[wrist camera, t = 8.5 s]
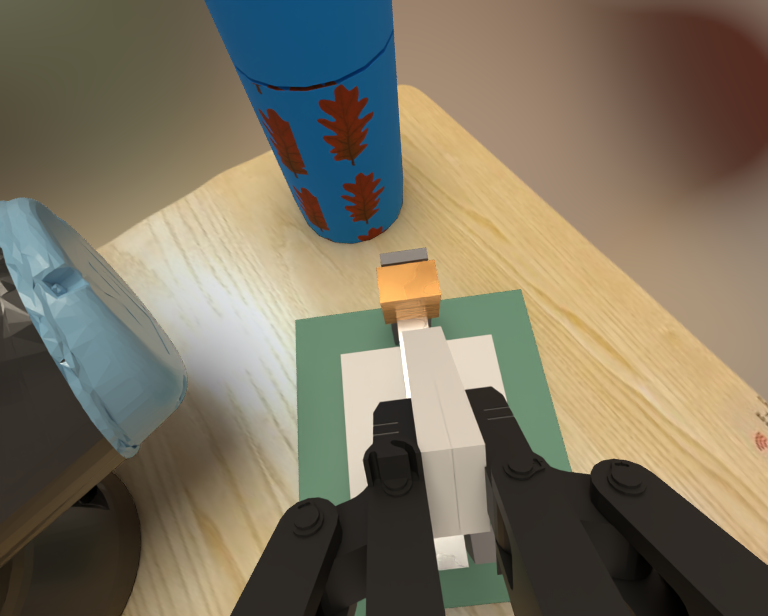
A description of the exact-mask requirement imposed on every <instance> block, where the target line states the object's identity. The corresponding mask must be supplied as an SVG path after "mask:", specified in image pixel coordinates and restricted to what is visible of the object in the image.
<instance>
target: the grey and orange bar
mask: <svg viewBox="0 0 768 616" xmlns="http://www.w3.org/2000/svg"><path fill="white" fill-rule="evenodd" d="M376 269H377V278H378V286H379V295H380V303H381V307H382V312H383V316H384V320H385V325H386V324H393V323H397V325H398V332H399V340H400V347H401V355H402V362H403V370H404V378H405V385H406V393H407V398H411V395H410V388H409V381H408V374H407V367H406V359H405V352H404V345H403V338H402V331H409V330H416V329H423V328H429V326H428V320H427V319H430V318H437V317H439V310H440V300H441V292H440V286H439V281H438V276H437V270H436V265H435V260H429V261H422V262H415V263H408V264H401V265H394V266H387V267H379V268H376ZM434 544H435V550H436V557H437V563H438V570H447V569H456V568H465V567H469V565H468V559H467V553H466V547H465V541H464V535H458V536H449V537H441V538H434Z"/></svg>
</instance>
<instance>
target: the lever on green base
mask: <svg viewBox="0 0 768 616" xmlns="http://www.w3.org/2000/svg"><path fill="white" fill-rule="evenodd" d="M380 259H381V266H382V267H387V266H394V265H401V264H408V263H415V262H422V261H428V255H427V250H426V248H419V249H412V250H405V251H398V252H391V253H384V254H380ZM427 320H428V326H429V328H431V327H438V326H441V328H442V330H443V333H444V336H445V339H446V341H447V344H448V347H449V349H450V352H451V355H452V357H453V360H454V363H455V365H456V368H457V371H458V373H459V376H460V379H461V381H462V384H463V387H464V389H465V390H466V389H474V388H481V387H489V386H492V387H493V388H495V389H496V390H497V391H499V392H500V393H501V394H503V396H504V398H505V400H506V401H507V403H508V405H509V408H510V409H511V411H512V413H513V416H514V417H515V419H516V421H517V422H518V424H519V426H520V428H521V430H522V432H523V434H524V436H525V438H526V440H527V442H528V443H529V445H530V447H531V449H532V451H533V452H534V453H536V454H538V455H539V456H541V457H543V458H544V459H545V461H546V462H547V463H548V464H549V465H550V466H551V467H553V468H556V469H559V470H563V471H568V472H572V470H571V467H570V463H569V460H568V456H567V452H566V449H565V445H564V442H563V438H562V435H561V431H560V427H559V424H558V420H557V417H556V413H555V409H554V406H553V402H552V399H551V395H550V392H549V388H548V384H547V381H546V377H545V374H544V370H543V366H542V363H541V359H540V356H539V352H538V348H537V345H536V341H535V338H534V334H533V331H532V327H531V323H530V320H529V316H528V313H527V309H526V305H525V302H524V298H523V295H522V291H521V289H519V290H512V291H505V292H497V293H490V294H483V295H475V296H468V297H461V298H453V299H446V300H440V310H439V317H437V318H430V319H427ZM296 367H297V413H298V460H299V502H300V501H302V500H305V499H307V498H315V497H320V498H324V499H327V500H329V501H330V502H332V503H333V504H334V505H335V506H336V505H339V504H341V503H344V502H346V501H348V500H350V499H352V498H354V497H356V496H357V495H359V494H360V493H361V492H362V491H364V489H365V488H366V487H367V486H368V484H367V479H366V474H365V470H364V465H363V457H364V454H365V451H366V450H367V449H368V448H369V447H370V446H371V445H372V444H373V412H374V411H375V409H376V407H377V406H378V404H379V402H383V401H391V400H399V399H406V398H407V393H406V385H405V378H404V370H403V362H402V355H401V347H400V340H399V332H398V325H397V323H393V324H386V325H385V320H384V316H383V312H382V308H380V309H373V310H366V311H358V312H351V313H344V314H336V315H329V316H322V317H314V318H307V319H300V320H296ZM464 541H465V547H466V553H467V559H468V565H469V567H465V568H456V569H447V570H439V577H440V583H441V590H442V596H443V603H444V609H445V608H454V607H463V606H472V605H482V604H491V603H500V602H509V601H510V598H509V595H508V592H507V588H506V585H505V581H504V578H503V575H497V565H496V547H495V535H494V532H493V528H492V525H491V522H490V532H483V533H474V534H466V535H464ZM355 616H366V598H365V599H363V600H361V601H359V602H357V608H356V612H355Z"/></svg>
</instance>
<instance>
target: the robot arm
mask: <svg viewBox="0 0 768 616" xmlns="http://www.w3.org/2000/svg"><path fill="white" fill-rule="evenodd" d="M402 338H403V345H404V352H405V359H406V367H407V374H408V381H409V388H410V395H411V398H406V399H399V400H391V401H383V402H379V404H378V406H377V407H376V409H375V411H374V412H373V444H372V445H371V446H370V447H369V448H368V449H367V450H366V451H365V454H364V457H363V465H364V470H365V474H366V479H367V484H368V486H367V487H366V488H365V489H364V491H362V492H361V493H360V494H359V495H357V496H356V497H354V498H352V499H350V500H348V501H346V502H344V503H341V504H339V505H336V506H335V505H334V504H333V503H332V502H330V501H329V500H327V499H324V498H320V497H315V498H307V499H305V500H302V501H300V502H297V503H296V504H295V505H293V506H292V507H291V508H289V509H288V510H287V511H286V512H285V514H284V515H283V516H282V518H281V519H280V521H279V523H278V525H277V527H276V529H275V531H274V533H273V534H272V536H271V538H270V540H269V542H268V544H267V546H266V548H265V550H264V552H263V554H262V556H261V558H260V559H259V561H258V563H257V565H256V567H255V569H254V571H253V573H252V575H251V577H250V579H249V581H248V582H247V584H246V586H245V588H244V590H243V592H242V594H241V596H240V598H239V600H238V602H237V604H236V606H235V607H234V609H233V611H232V613H231V615H230V616H355V612H356V608H357V602H359V601H361V600H363V599H365V598H366V616H445V609H444V603H443V596H442V590H441V583H440V577H439V570H438V563H437V557H436V550H435V544H434V538H441V537H449V536H458V535H466V534H474V533H483V532H490V522H491V525H492V528H493V532H494V535H495V547H496V565H497V575H503V578H504V581H505V585H506V588H507V592H508V595H509V598H510V602H511V605H512V608H513V612H514V615H515V616H768V565H766V564H765V563H764V562H763V561H761V560H760V559H759V558H758V557H757V556H755V555H754V554H753V553H752V552H750V551H749V550H748V549H747V548H745V547H744V546H743V545H742V544H740V543H739V542H738V541H737V540H735V539H734V538H733V537H732V536H730V535H729V534H728V533H727V532H725V531H724V530H723V529H722V528H721V527H719V526H718V525H717V524H716V523H714V522H713V521H712V520H711V519H709V518H708V517H707V516H706V515H704V514H703V513H702V512H701V511H699V510H698V509H697V508H696V507H694V506H693V505H692V504H691V503H690V502H688V501H687V500H686V499H685V498H683V497H682V496H681V495H680V494H678V493H677V492H676V491H675V490H673V489H672V488H671V487H670V486H668V485H667V484H666V483H665V482H663V481H662V480H661V479H660V478H658V477H657V476H656V475H655V474H654V473H652V472H651V471H649V470H647V469H646V468H644V467H643V466H641V465H639V464H636V463H633V462H630V461H627V460H619V459H610V460H603V461H601V462H599V463H598V464H596V465H594V467H593V469H592V471H591V475H590V474H582V473H574V472H568V471H563V470H559V469H556V468H553V467H551V466H550V465H549V464H548V463H547V462H546V461H545V459H544V458H543V457H541V456H539V455H538V454H536V453H534V452H533V451H532V449H531V447H530V445H529V443H528V442H527V440H526V438H525V436H524V434H523V432H522V430H521V428H520V426H519V424H518V422H517V421H516V419H515V417H514V416H513V413H512V411H511V409H510V408H509V405H508V403H507V401H506V400H505V398H504V396H503V394H501V393H500V392H499V391H497V390H496V389H495V388H493V387H492V386H489V387H481V388H474V389H466V390H465V389H464V387H463V384H462V381H461V379H460V376H459V373H458V371H457V368H456V365H455V363H454V360H453V357H452V355H451V352H450V349H449V347H448V344H447V341H446V339H445V336H444V333H443V330H442V328H441V326H438V327H431V328H423V329H416V330H409V331H402ZM186 391H187V373H186V369H185V366H184V364H183V361H182V359H181V357H180V355H179V353H178V352H177V350H176V348H175V347H174V345H173V343H172V342H171V340H170V339H169V337H168V336H167V334H166V333H165V332H164V330H163V329H162V328H161V326H160V325H159V324H158V322H157V321H156V320H155V318H154V317H153V316H152V314H151V313H150V312H149V310H148V309H147V308H146V307H145V305H144V304H143V303H142V302H141V301H140V299H139V298H138V297H137V296H136V294H135V293H134V292H133V291H132V290H131V289H130V287H129V286H128V285H127V284H126V283H125V282H124V280H123V279H122V278H121V277H120V276H119V275H118V274H117V273H116V271H115V270H114V269H113V268H112V267H111V266H110V265H109V264H108V263H107V262H106V261H105V260H104V258H103V257H102V256H101V255H100V254H99V253H98V252H97V251H96V250H95V249H94V248H93V247H92V246H91V245H90V244H89V243H88V242H87V241H86V240H85V239H84V238H83V237H82V236H81V235H80V234H79V233H77V231H75V230H74V229H73V228H72V227H71V226H70V225H69V224H67V223H66V222H65V221H64V220H62V219H60V218H58V217H57V216H56V215H55V214H54V213H53V212H52V211H51V210H50V209H49V208H48V207H46V206H45V205H43V204H42V203H40V202H38V201H36V200H34V199H30V198H16V199H13V200H10V201H0V616H120V615H121V613H122V611H123V609H124V607H125V605H126V602H127V600H128V598H129V595H130V592H131V590H132V586H133V583H134V580H135V576H136V572H137V567H138V562H139V554H140V526H139V519H138V514H137V511H136V507H135V504H134V502H133V499H132V497H131V495H130V493H129V491H128V490H127V488H126V487H125V485H124V484H123V483H122V482H121V480H120V479H119V478H118V477H117V476H116V475H114V474H113V473H112V472H111V471H113V470H114V469H115V468H116V467H117V466H118V465H119V464H121V463H122V462H123V461H124V460H125V459H126V458H129V457H130V458H132V457H133V456H134V455H135V454H136V453H137V452H138V450H139V449H140V444H141V443H142V442H143V441H144V440H145V439H146V438H147V437H148V436H149V435H150V434H151V433H152V432H153V431H154V430H155V429H156V428H157V427H159V426H160V425H161V424H162V423H163V422H164V421H165V420H166V419H167V418H168V417H169V416H170V415H171V414H172V413H173V412H174V411H175V410H176V409H177V408H178V407H179V405H180V404H181V402H182V401H183V399H184V397H185V394H186Z"/></svg>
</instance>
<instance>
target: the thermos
mask: <svg viewBox="0 0 768 616" xmlns="http://www.w3.org/2000/svg"><path fill="white" fill-rule="evenodd" d="M205 2H206V5H207V7H208V9H209V11H210V13H211V16H212V18H213V20H214V22H215V25H216V27H217V29H218V31H219V33H220V36H221V38H222V40H223V42H224V44H225V47H226V49H227V51H228V53H229V55H230V57H231V60H232V62H233V64H234V66H235V69H236V71H237V73H238V75H239V77H240V80H241V82H242V84H243V86H244V89H245V91H246V93H247V95H248V97H249V100H250V102H251V104H252V106H253V108H254V111H255V113H256V115H257V117H258V119H259V122H260V124H261V126H262V128H263V130H264V133H265V135H266V137H267V139H268V141H269V144H270V146H271V148H272V150H273V152H274V155H275V157H276V159H277V161H278V164H279V166H280V168H281V170H282V172H283V175H284V177H285V179H286V181H287V183H288V186H289V188H290V190H291V192H292V194H293V197H294V199H295V201H296V203H297V205H298V207H299V208H300V210H301V212H302V214H303V216H304V217H305V219H306V221H307V223H308V225H309V226H310V227H311V228H312V229H313V230H314V231H315V232H316V233H317V234H318V235H319V236H321V237H324V238H326V239H328V240H331V241H333V242H339V243H352V244H353V243H357V242H362V241H366V240H370V239H372V238H374V237H376V236H377V235H379V234H381V233H383V232H384V231H386V230H387V229H388V228H389V227H390V226H391V224H392V223H393V222H394V221H395V220H396V219H397V217H398V214H399V212H400V209H401V206H402V203H403V171H402V155H401V140H400V124H399V108H398V92H397V79H396V78H397V76H396V61H395V46H394V29H393V14H392V0H205Z"/></svg>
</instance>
